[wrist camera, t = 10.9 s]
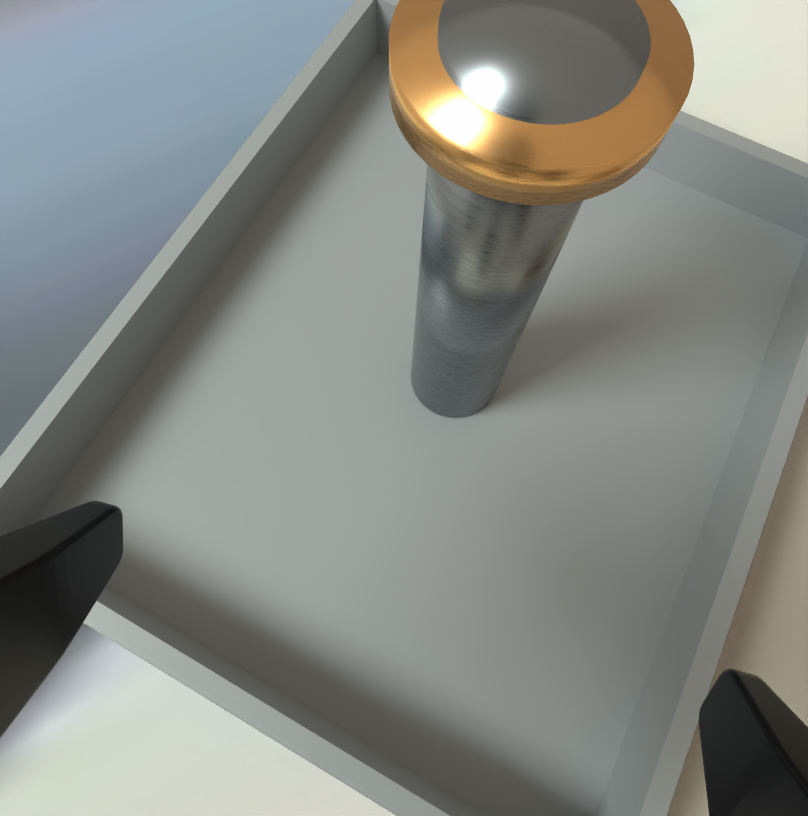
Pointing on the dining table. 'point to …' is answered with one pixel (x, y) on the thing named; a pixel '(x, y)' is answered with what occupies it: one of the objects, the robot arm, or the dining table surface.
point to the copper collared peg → (518, 156)
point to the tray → (440, 461)
